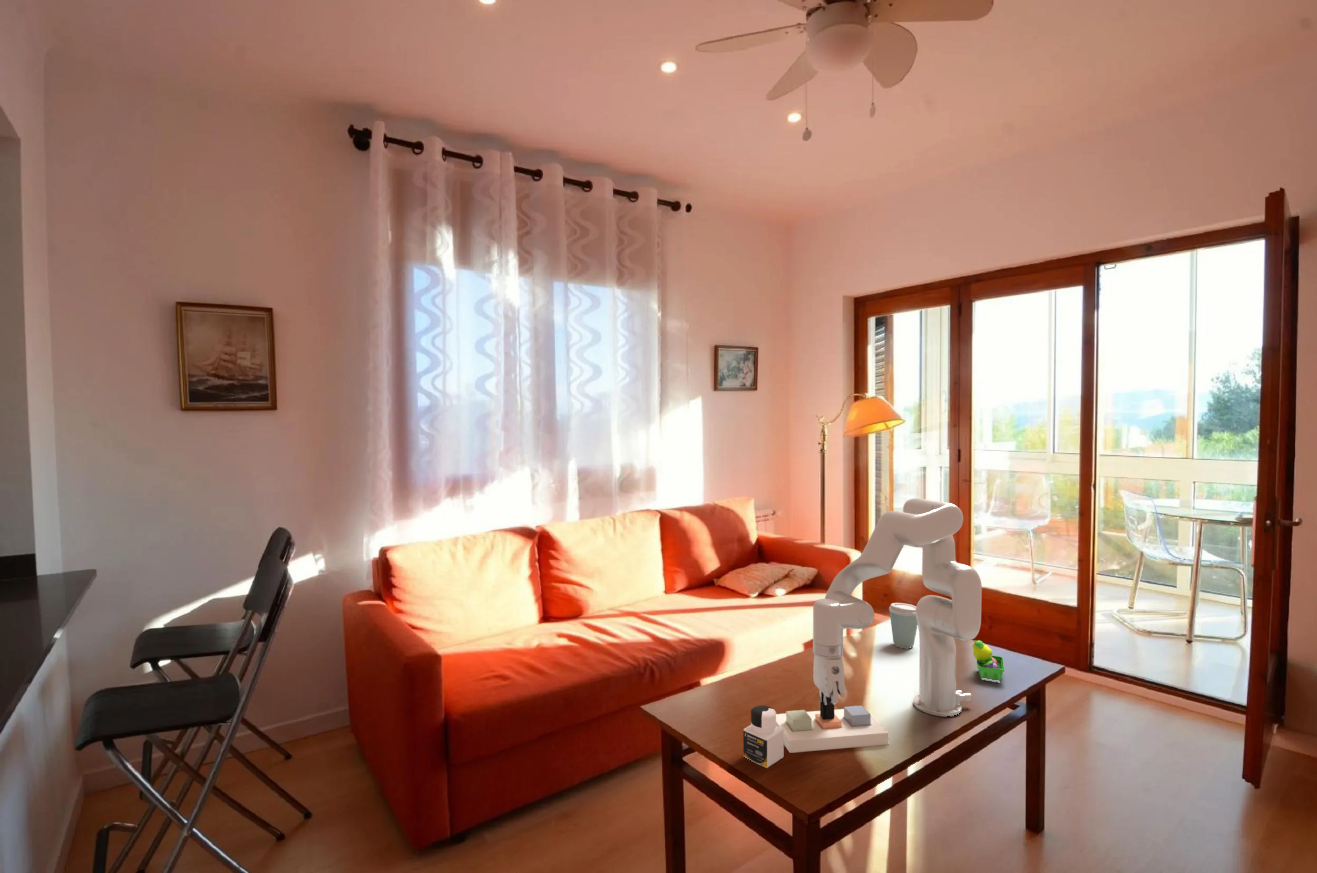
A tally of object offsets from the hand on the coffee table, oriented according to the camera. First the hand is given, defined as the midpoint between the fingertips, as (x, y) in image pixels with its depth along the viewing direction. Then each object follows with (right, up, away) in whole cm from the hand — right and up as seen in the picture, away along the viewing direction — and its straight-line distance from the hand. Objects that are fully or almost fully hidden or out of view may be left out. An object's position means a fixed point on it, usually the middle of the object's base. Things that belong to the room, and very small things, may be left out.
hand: (827, 717), depth 164 cm
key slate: (+8, -3, +1) cm, 9 cm away
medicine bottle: (-18, -5, -10) cm, 22 cm away
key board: (0, -5, 0) cm, 5 cm away
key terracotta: (0, -4, 0) cm, 4 cm away
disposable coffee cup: (+45, -3, +63) cm, 77 cm away
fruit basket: (+61, -3, +36) cm, 71 cm away
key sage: (-8, -3, -1) cm, 8 cm away
